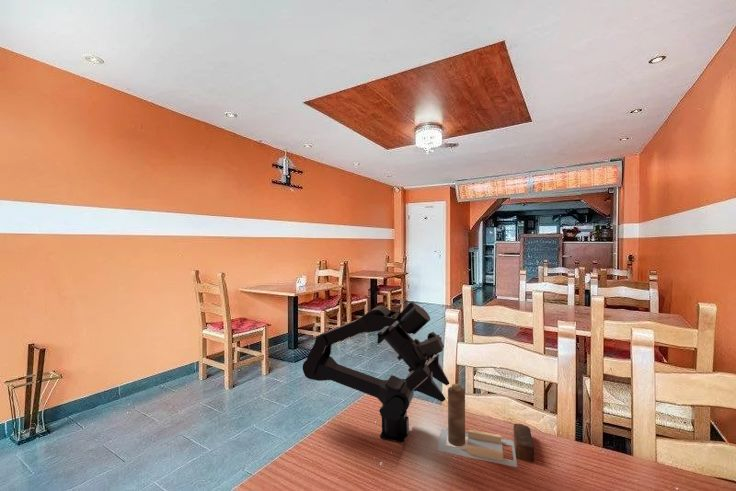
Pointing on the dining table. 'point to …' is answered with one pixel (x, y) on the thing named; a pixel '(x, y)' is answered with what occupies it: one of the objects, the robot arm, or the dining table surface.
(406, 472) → the dining table surface
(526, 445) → the brick
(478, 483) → the dining table surface
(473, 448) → the board
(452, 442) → the pepper mill
